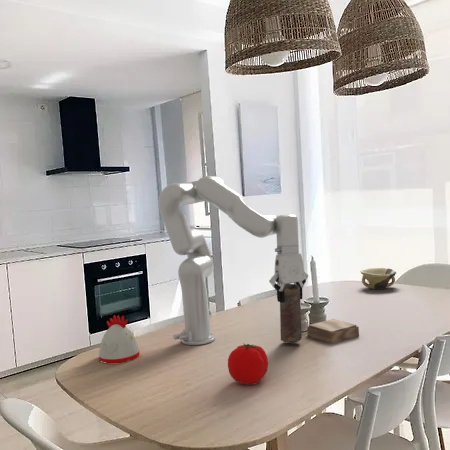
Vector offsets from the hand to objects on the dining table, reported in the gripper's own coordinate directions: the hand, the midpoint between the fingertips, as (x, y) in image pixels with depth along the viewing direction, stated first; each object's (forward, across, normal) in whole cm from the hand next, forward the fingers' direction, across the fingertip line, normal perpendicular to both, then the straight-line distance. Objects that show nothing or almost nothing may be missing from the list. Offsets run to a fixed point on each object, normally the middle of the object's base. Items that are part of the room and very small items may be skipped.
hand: (290, 299), depth 172 cm
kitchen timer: (+17, -53, +29) cm, 63 cm away
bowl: (+15, +90, +43) cm, 101 cm away
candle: (+15, 0, 0) cm, 15 cm away
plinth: (+15, +17, -3) cm, 23 cm away
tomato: (+16, -30, -20) cm, 40 cm away
